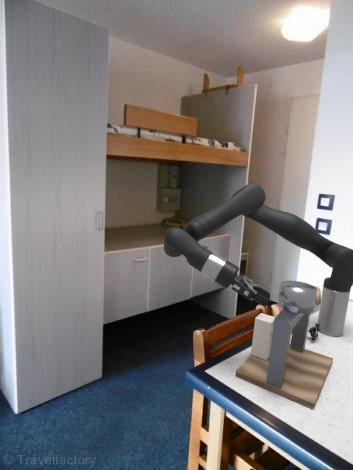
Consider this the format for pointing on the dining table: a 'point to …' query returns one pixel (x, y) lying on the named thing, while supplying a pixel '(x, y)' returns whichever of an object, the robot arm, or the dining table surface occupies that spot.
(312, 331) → the valve
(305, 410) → the dining table surface
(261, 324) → the plug
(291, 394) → the track board
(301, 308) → the grey two-legged stand
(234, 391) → the dining table surface
